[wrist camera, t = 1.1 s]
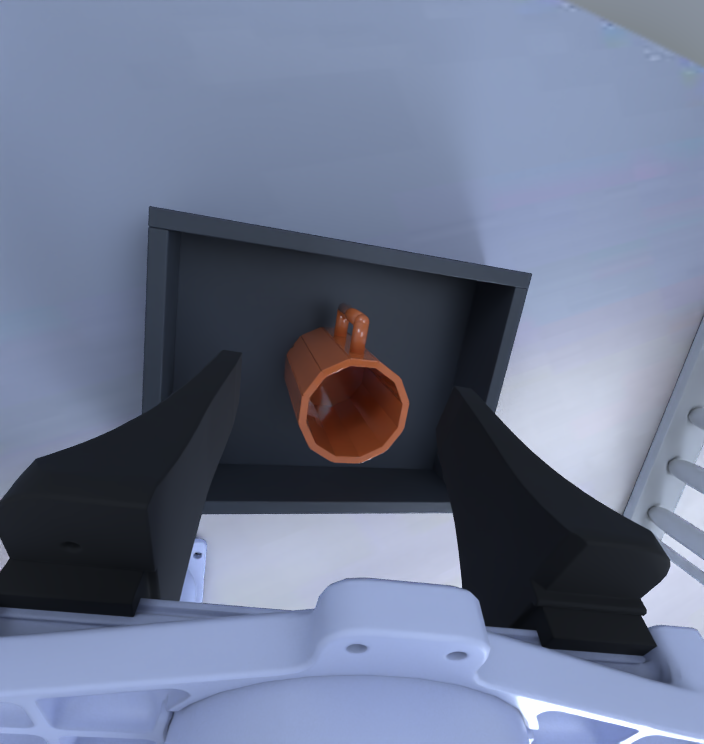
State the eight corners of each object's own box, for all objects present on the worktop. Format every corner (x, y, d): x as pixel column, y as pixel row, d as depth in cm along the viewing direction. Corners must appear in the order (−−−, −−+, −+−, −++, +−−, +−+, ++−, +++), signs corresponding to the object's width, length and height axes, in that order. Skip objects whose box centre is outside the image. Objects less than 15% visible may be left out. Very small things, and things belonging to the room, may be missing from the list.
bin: (437, 475, 31) (468, 513, 26) (155, 469, 25) (138, 515, 21) (487, 267, 27) (532, 273, 23) (166, 211, 22) (148, 205, 18)
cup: (359, 409, 27) (396, 465, 20) (280, 404, 26) (292, 461, 19) (378, 303, 25) (425, 326, 19) (293, 291, 24) (313, 312, 17)
